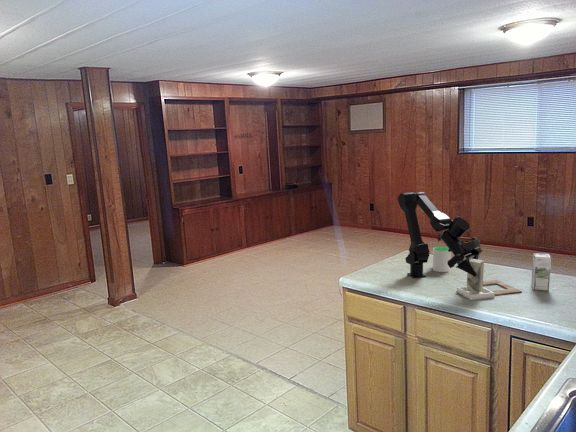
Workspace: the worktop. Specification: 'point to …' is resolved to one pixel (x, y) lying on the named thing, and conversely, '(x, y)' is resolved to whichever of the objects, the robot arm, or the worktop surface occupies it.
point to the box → (475, 281)
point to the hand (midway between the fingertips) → (478, 274)
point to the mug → (441, 259)
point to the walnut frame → (507, 289)
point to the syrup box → (541, 271)
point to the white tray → (475, 296)
